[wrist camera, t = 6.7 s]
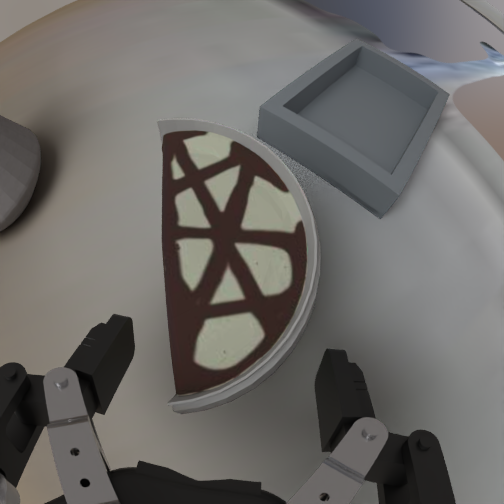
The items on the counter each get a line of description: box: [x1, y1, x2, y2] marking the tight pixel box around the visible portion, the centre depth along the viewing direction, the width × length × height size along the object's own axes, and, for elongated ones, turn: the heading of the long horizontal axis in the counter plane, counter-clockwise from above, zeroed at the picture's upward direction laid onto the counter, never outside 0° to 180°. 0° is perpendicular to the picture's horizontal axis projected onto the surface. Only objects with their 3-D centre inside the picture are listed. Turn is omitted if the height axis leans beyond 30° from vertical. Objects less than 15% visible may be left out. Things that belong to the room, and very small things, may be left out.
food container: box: [157, 118, 321, 414], centre depth 15 cm, size 12×6×10 cm, turn 8°
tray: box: [257, 38, 450, 219], centre depth 25 cm, size 12×18×4 cm, turn 142°
